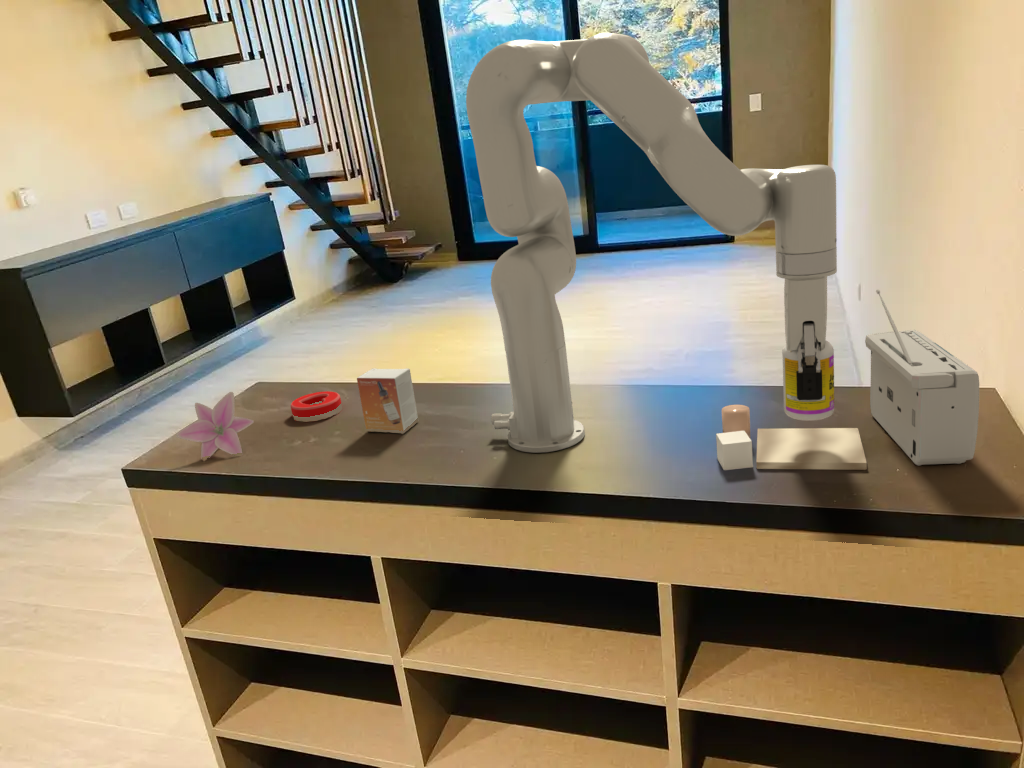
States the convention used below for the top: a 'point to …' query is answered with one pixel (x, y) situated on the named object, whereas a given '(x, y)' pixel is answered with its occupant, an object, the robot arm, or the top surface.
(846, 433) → the ash board
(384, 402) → the small box
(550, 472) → the top surface
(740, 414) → the peach rounded capsule
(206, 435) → the lily
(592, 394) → the top surface
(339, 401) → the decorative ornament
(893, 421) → the stereo radio cassette player
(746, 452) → the off-white block
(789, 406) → the supplement bottle
